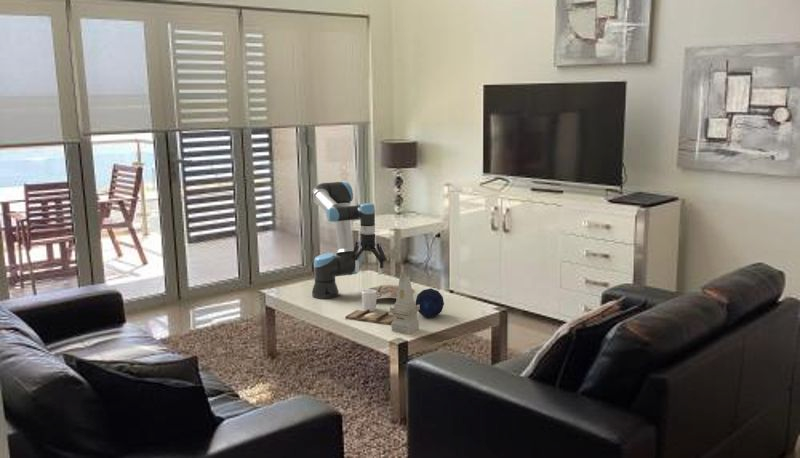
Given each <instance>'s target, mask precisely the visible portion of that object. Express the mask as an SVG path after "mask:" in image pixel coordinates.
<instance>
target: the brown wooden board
mask: <svg viewBox="0 0 800 458" xmlns="http://www.w3.org/2000/svg"><path fill="white" fill-rule="evenodd" d="M345 319H346V320H354V321H360V322H367V323H375V324H381V325H388V326H389V325H392V324H391V323H392V322H393V314H390V313H389V311H386V312H384V313H383V312H382V313H381V312H377V311H375V312H374V311H370V309H368V310H366V311H364V310H359V309H356V310H354V311H352V312H351V313H349V314H347V315H345Z"/></svg>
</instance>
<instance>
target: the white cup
mask: <svg viewBox="0 0 800 458" xmlns="http://www.w3.org/2000/svg"><path fill="white" fill-rule="evenodd" d="M376 292H377V291H376V290H373V289H369V288H367V289H362V291H361V303H362V311H366V310H368V309H370V312H374V311H375V310H376V309H377V307H376V306H377V299H376Z"/></svg>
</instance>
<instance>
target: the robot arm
mask: <svg viewBox="0 0 800 458" xmlns="http://www.w3.org/2000/svg"><path fill="white" fill-rule="evenodd" d="M352 188H353V187H352V185H351V184H350V183H349V182H347V181H336V182H335V181H334V182H322V183H319V184H317V185H316V186H315V187H314V188H312V189H313V190H312V191H311V195H310V196H311V200H312V202H313V203H314V204H315V205H317V206H320V207H321V208H322V209H323V211H324V212H326V213H325V214H326V220H327V221H328V222H332V223H333V222H334V223H335V231H336V238H337V239H336V240H337V241H336V242H337V248H338V249H337V251H336V253H335V254H336V255H335V254H334V253H323V254H320V255H318V256H316V257H315V258H314V259H313V269H314V285H313V288H312V291H311V297H312V298H315V299H319V300H322V299H323V300H324V299H325V300H327V299H333V298H337V297H339V295H340V294H339V292H340V291H339V289H338V284H337V283H336V277H343V276H352V275H357V274H359V273H360V270H361V266H362V258H361V255H362V254H363V253H364V251H365V252H371V253H373V255H374V256H375V258H376V259H377V260H378V263H377V266H378V267H377V268H378V269H377V270H378V271H377V272H378V275H379V276H380V275H382V274H383V268H384V263H385V262H386V261H387V257H386V255H385V252H384V250H383V248H382V244H381V242H379V243H376V220H375V219H376V207H375V204H374V203H371V202H364V203H361V204H355V205H351V204H352V203H351V202H352V201H353V200H354V192H353V189H352ZM351 221H360V240H357V241H355V244H353V243H354V241H353V235H352V226H351ZM354 245H355V246H354ZM359 248H360V249H359Z"/></svg>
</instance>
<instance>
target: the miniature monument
mask: <svg viewBox="0 0 800 458" xmlns="http://www.w3.org/2000/svg"><path fill="white" fill-rule="evenodd" d="M397 286H398V292H397V298H395V299H396V300H395V303H394V305H393V307H392V306H390V307H389V313H392V315H393V322H392V323H391V324H390V325H391V332H392V331H393V332H394V333H398V332H399V334H403V333H405V334H404V335H410V333H411V334H412V333H414V332H416V331H418V330H419V328H420V321H419V319H418V310H420V305H417V307H416V300H415V299H414V293H413V294H412V289H413V287H412V283H411V278H410V273H409V272H408V271H407V270H406V269H403V270H402V271H401V273H400V274H399V280H398V284H397ZM414 300H415V301H414ZM417 329H418V330H417Z"/></svg>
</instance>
